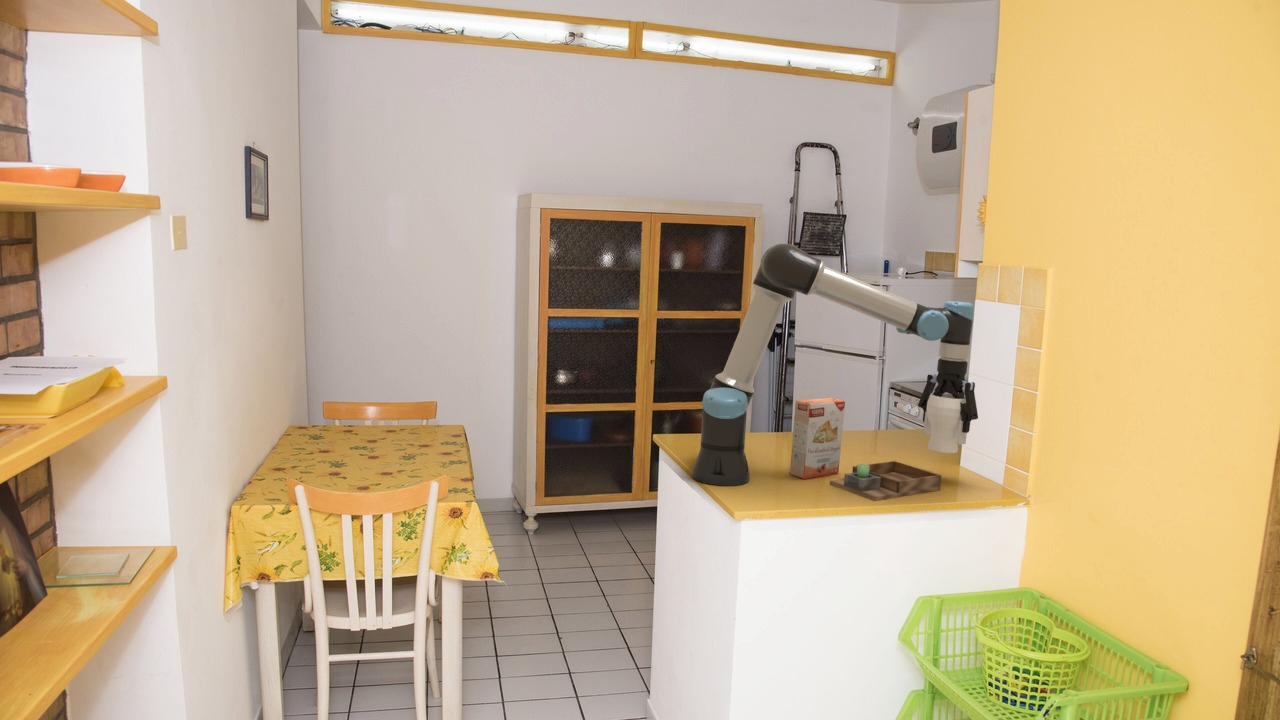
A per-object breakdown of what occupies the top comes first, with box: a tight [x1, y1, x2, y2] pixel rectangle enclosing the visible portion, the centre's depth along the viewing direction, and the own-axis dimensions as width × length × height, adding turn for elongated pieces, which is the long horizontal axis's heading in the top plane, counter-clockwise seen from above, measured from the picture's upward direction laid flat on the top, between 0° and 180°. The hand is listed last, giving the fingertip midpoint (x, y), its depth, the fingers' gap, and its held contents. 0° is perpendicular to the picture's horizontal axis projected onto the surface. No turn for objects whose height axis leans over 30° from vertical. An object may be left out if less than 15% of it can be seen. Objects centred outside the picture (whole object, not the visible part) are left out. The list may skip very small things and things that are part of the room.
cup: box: [927, 392, 966, 454], centre depth 230 cm, size 11×11×15 cm
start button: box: [856, 463, 869, 478], centre depth 219 cm, size 3×3×4 cm
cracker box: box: [789, 397, 846, 480], centre depth 232 cm, size 14×6×21 cm, turn 125°
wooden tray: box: [829, 460, 942, 502], centre depth 224 cm, size 24×16×4 cm, turn 121°
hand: (943, 439), depth 231 cm, fingers closed on cup, 11 cm apart
